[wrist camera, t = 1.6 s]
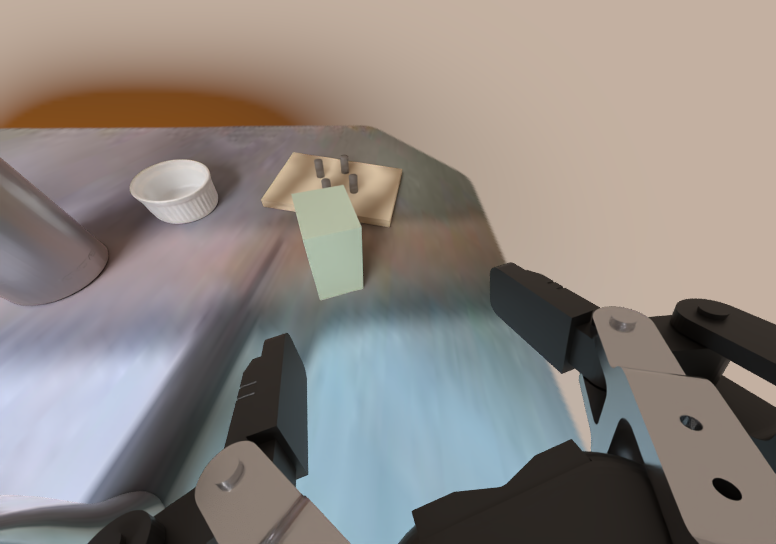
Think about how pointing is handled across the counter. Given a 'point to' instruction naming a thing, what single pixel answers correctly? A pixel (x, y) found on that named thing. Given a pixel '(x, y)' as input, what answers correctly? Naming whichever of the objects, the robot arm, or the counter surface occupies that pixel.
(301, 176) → the peg board
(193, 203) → the ramekin
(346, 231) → the green block
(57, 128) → the counter surface
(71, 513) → the beer glass
